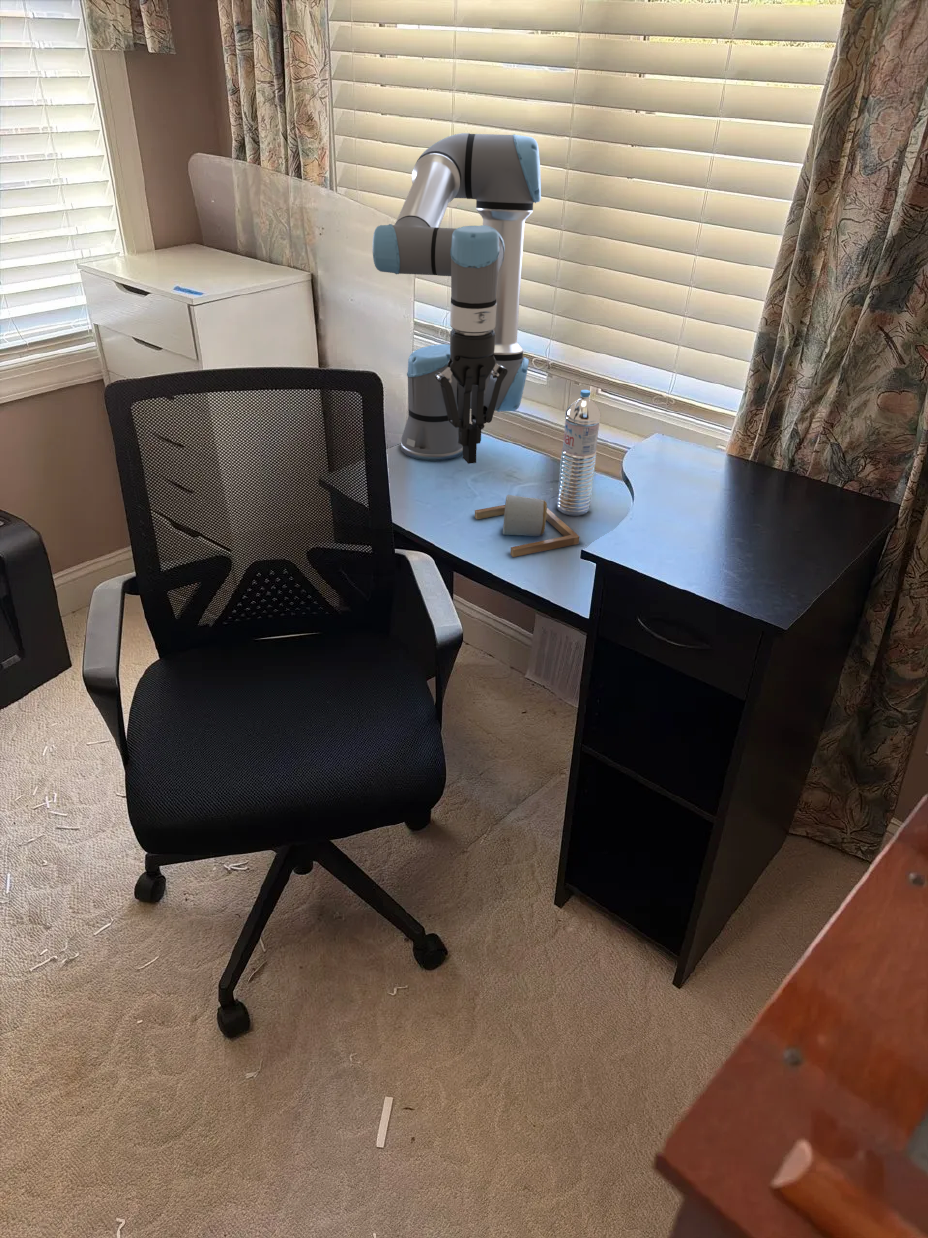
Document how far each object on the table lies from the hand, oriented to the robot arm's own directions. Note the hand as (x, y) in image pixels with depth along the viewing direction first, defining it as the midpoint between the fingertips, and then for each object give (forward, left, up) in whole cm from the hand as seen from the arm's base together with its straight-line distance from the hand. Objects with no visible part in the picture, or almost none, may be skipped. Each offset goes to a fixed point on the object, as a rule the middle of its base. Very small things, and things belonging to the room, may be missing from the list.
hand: (469, 460), depth 155 cm
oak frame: (+1, +12, -16) cm, 20 cm away
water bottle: (-4, +26, -17) cm, 31 cm away
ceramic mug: (+1, +12, -17) cm, 20 cm away
